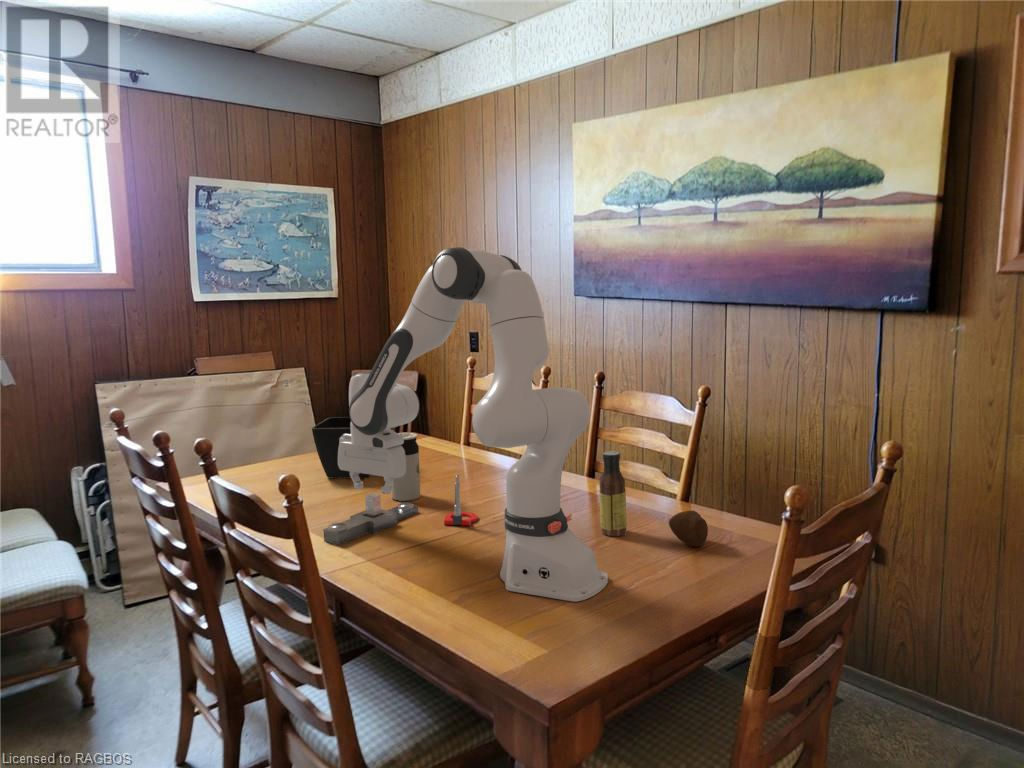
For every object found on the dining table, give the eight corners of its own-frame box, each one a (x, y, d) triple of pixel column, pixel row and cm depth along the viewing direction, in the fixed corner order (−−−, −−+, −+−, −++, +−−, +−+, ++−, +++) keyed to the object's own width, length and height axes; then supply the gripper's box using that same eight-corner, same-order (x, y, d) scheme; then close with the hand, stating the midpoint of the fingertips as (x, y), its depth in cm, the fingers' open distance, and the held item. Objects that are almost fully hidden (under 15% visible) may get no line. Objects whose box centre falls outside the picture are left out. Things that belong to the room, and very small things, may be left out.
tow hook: (449, 515, 190) (440, 525, 181) (448, 467, 189) (439, 475, 180) (480, 516, 189) (473, 527, 180) (480, 468, 188) (473, 476, 179)
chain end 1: (396, 524, 183) (396, 510, 182) (343, 546, 168) (342, 531, 167) (373, 518, 187) (373, 504, 187) (319, 540, 172) (318, 525, 172)
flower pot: (331, 465, 240) (328, 416, 238) (387, 465, 239) (385, 415, 237) (313, 482, 222) (310, 428, 219) (374, 481, 221) (372, 427, 218)
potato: (695, 553, 161) (696, 519, 160) (662, 540, 169) (662, 508, 168) (716, 546, 165) (717, 513, 164) (683, 534, 173) (684, 502, 172)
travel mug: (387, 500, 202) (384, 437, 199) (398, 492, 209) (396, 431, 207) (414, 502, 200) (412, 439, 197) (424, 494, 208) (422, 432, 205)
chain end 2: (422, 513, 191) (422, 505, 191) (374, 533, 176) (373, 525, 176) (400, 508, 195) (399, 500, 195) (350, 527, 181) (350, 519, 180)
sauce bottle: (627, 529, 177) (628, 450, 174) (624, 538, 171) (625, 456, 168) (601, 527, 178) (601, 448, 175) (597, 536, 172) (597, 455, 169)
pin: (381, 525, 182) (380, 494, 181) (374, 528, 180) (372, 497, 179) (374, 523, 183) (372, 493, 182) (366, 526, 181) (365, 495, 180)
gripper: (330, 435, 181) (333, 488, 183) (391, 442, 170) (393, 499, 171) (348, 430, 186) (351, 482, 188) (408, 437, 175) (411, 493, 177)
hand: (372, 491), depth 180 cm, fingers open, 8 cm apart
